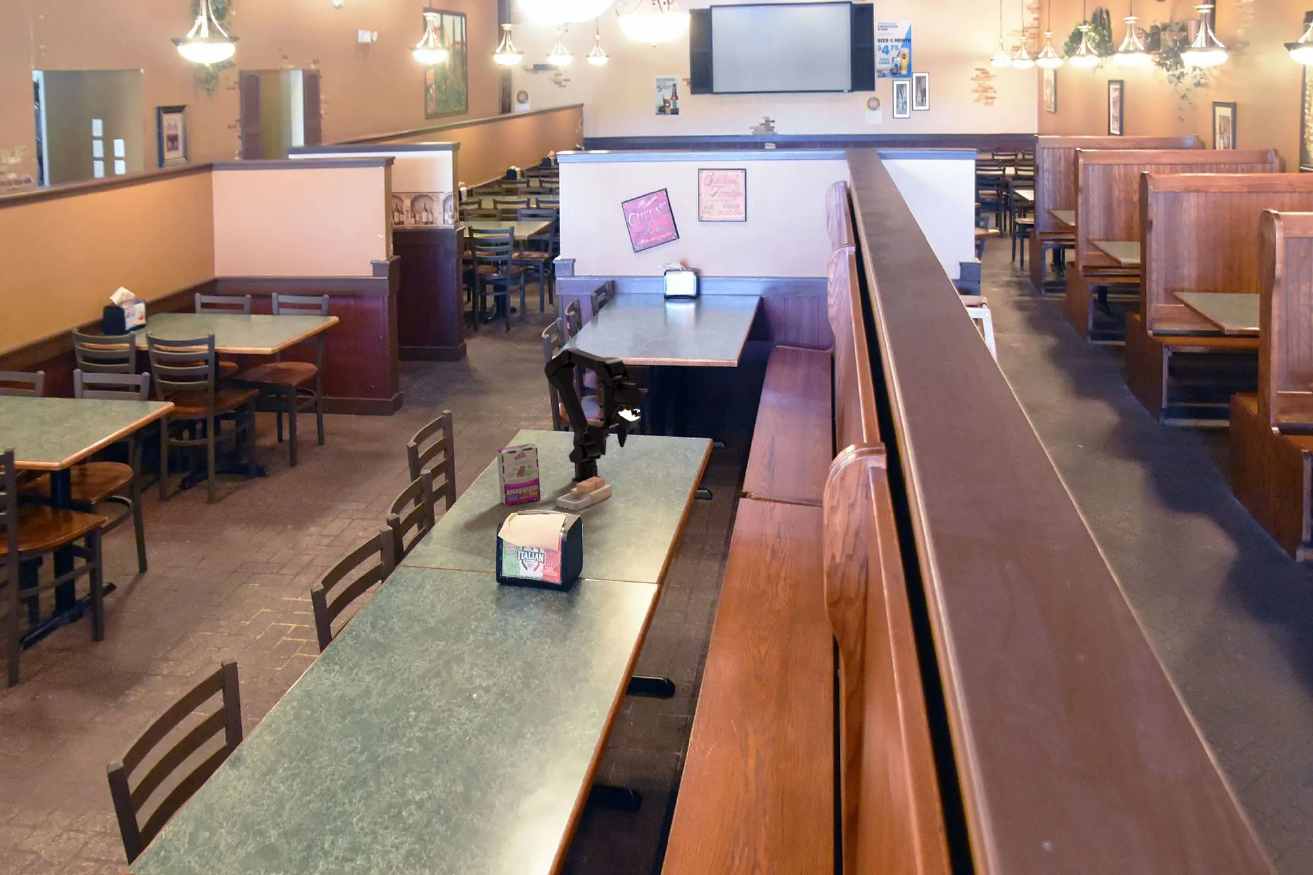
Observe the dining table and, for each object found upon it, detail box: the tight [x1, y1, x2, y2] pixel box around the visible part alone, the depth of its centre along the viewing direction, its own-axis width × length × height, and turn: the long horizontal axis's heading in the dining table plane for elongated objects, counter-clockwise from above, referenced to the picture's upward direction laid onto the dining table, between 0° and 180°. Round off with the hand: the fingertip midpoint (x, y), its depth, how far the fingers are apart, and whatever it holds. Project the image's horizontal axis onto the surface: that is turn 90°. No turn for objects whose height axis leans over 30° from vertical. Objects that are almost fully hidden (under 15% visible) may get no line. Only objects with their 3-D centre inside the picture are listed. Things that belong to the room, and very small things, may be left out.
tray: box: [555, 491, 593, 512], centre depth 332 cm, size 8×7×2 cm
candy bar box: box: [496, 443, 542, 507], centre depth 334 cm, size 11×5×16 cm, turn 117°
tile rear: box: [586, 477, 606, 489], centre depth 339 cm, size 4×4×2 cm
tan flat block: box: [570, 483, 613, 505], centre depth 338 cm, size 8×9×3 cm
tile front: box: [575, 481, 596, 493], centre depth 335 cm, size 4×4×2 cm
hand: (612, 451), depth 342 cm, fingers open, 9 cm apart
